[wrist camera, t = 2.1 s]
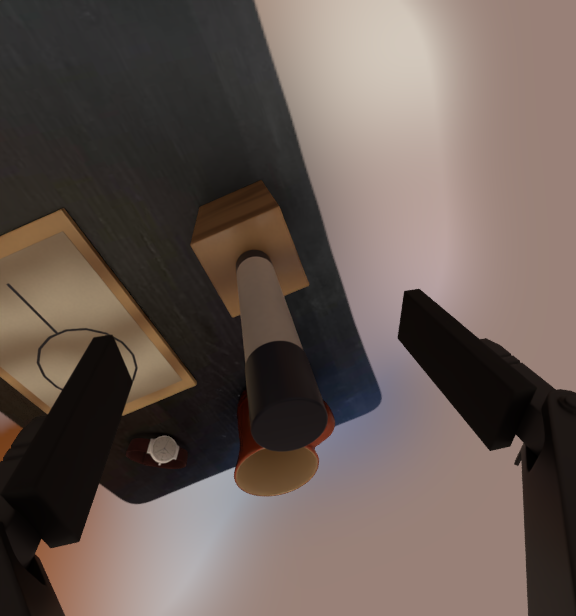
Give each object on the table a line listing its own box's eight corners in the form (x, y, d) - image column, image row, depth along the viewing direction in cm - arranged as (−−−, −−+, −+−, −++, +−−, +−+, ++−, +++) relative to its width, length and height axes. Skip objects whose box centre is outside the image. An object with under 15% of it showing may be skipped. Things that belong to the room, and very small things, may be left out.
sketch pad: (-107, 283, 27) (-115, 287, 26) (63, 207, 26) (60, 209, 26) (76, 431, 38) (74, 436, 38) (197, 381, 38) (196, 385, 37)
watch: (195, 441, 43) (193, 466, 40) (179, 461, 45) (175, 487, 41) (138, 425, 40) (131, 451, 37) (123, 448, 41) (115, 475, 38)
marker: (232, 251, 20) (246, 407, 9) (270, 246, 21) (328, 391, 10) (237, 286, 22) (255, 458, 11) (274, 280, 22) (328, 444, 11)
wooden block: (198, 206, 28) (189, 244, 20) (261, 179, 28) (279, 205, 19) (229, 264, 31) (232, 318, 23) (285, 240, 31) (309, 285, 23)
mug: (259, 430, 44) (268, 506, 36) (216, 397, 40) (215, 475, 31) (330, 384, 42) (359, 453, 34) (294, 345, 38) (316, 412, 29)
